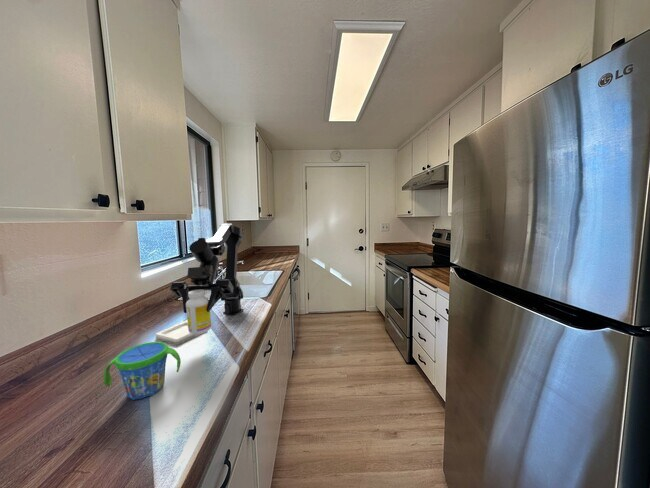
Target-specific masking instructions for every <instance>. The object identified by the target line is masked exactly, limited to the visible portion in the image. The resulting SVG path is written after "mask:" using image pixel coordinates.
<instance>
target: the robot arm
mask: <svg viewBox="0 0 650 488" xmlns="http://www.w3.org/2000/svg"><path fill="white" fill-rule="evenodd" d="M243 237H244V232H243V230H242V229H241V228H240V227H238V226H237V225H236V226H235V225H234V224H233V223H222V224H220V226H219V228H218V230H217V231H216V233H215V234H214V236H212V237H210V238H207V239H206V238H205V237H198V239H197V240H194V242H192V243H191V244H189V248H188V250H189V251H190V253H191V255H192V256H193V258H195V260H196V261H197V262H198V263H199V266H198V267H197V266H196V267H195V266H194V267H188V268H187V276H186V278H187V279H190V282H191V283H192V284H188V283H187V282H186V281H173V282H172V283H171V284H170V286H169V290H170V291H171V292H172V293H173V294H174V295H175V297H177V298H181V300H182V308H183V313H184V314H187V312H186V302H187V301H188V300H189V297H188V293H189V292H190V291H194V290H205V291H210V296H209V298H208V300H209V302H208V306H207V312H209V311H210V312H211V310H212V309H213V308H214V307H215V305H216V304H217V302H219V300H220V301H224V305H223V306H224V311H223V312H222V313H223V314H226V315H229V316H231V315H232V316H235V315H237V314H239V313H241V312H243V311H244V308H242V306H241V303H242V302H241V300H242V299H243V300H244V291H243V290H242V287H241V283H240V282H239V280H238V278H237V276H238V275H237V274H238V273H237V272H238V271H237V270H238V248H239V246H240V245H241V244H242V241H243ZM226 247H227V248H226ZM225 252H226V262H225V263H226V264H225V276H224V278H223V279H217V275H216V274H217V269H218V267H220V262H219V261H220V260H219V257H221V256H223V255H224V253H225ZM216 279H217V280H216ZM215 280H216V283H215Z"/></svg>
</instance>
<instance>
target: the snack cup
mask: <svg viewBox="0 0 650 488" xmlns="http://www.w3.org/2000/svg"><path fill="white" fill-rule="evenodd" d="M168 354H169V355H171V356H172V357H173V358H174V359H175V360H176V373H179V370H180V368H181V357H180V354H179V352H178V351H177V350H176V349H175V348H172V347H170V346H168V344H167V342H164V341H151V342H145V343H141V344H138V345H134V346H132V347H130V348H127V349H125V350H123V351H122V352H121V353H119V354H118V355H117V356H115V358H113V359H112V360H111V361H110V362H109V363H108V364H107V366H106V367H105V368H104V370H103V371H104V372H103V382H104V385H105V386H106V387H110V386H111V385H112V383H113V378H112V375H111V373H110V368H111V366H112V365H115V368H117V370H118V372H119V376H120V378H121V382H122V385H123V388H124V390H125V391H124V392H125V393H126V395H127V397H128V399H131V400H133V401H134V400H140V399H143V398H144V399H145V398H146V397H151V396H152V397H153V395H155V393H157V392H159V391H160V389H162V387H164V385H165V377H166V364H167V358H168Z"/></svg>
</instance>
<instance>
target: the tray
mask: <svg viewBox="0 0 650 488" xmlns="http://www.w3.org/2000/svg"><path fill="white" fill-rule="evenodd" d="M197 336H200V334H191V333H189V330H188V321H187V320H185V321H183V322H180V323H178V324H175V325H173V326H171V327H168V328H166V329H162V330H161V331H159V332H156V333H155V339H156V340H158V341H160V342H164V343H169V344H172V345H175V346H179V345H180V344H182V343H185V342H187V341H188V340H190V339H193V338H195V337H197Z"/></svg>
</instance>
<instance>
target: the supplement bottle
mask: <svg viewBox="0 0 650 488" xmlns="http://www.w3.org/2000/svg"><path fill="white" fill-rule="evenodd" d="M205 294H206V290H194V291H190V292H189V293H188V297H189V300H188V301H187V302H186V312H187V313H186V321H188V330H189V333H191V334H199V335H201V334H204V333H207V332H208V331H210V330H211V329H212V320H211V319H212V318H211V310H210V311H209V312H207V306H208V302H209V298H208V297H206V296H205Z"/></svg>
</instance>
